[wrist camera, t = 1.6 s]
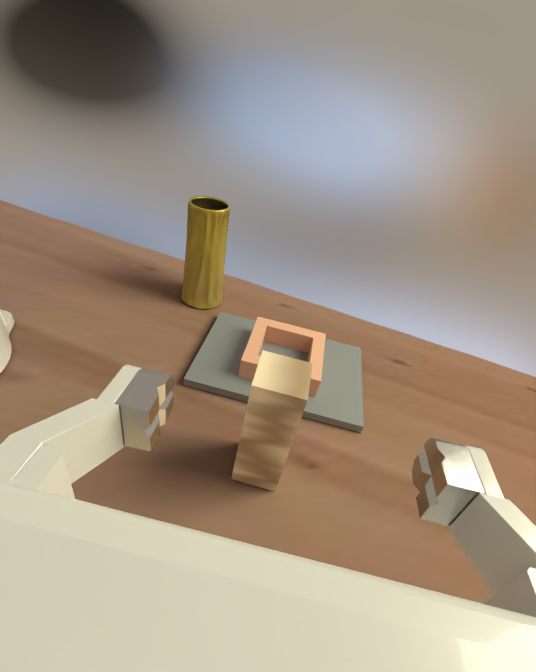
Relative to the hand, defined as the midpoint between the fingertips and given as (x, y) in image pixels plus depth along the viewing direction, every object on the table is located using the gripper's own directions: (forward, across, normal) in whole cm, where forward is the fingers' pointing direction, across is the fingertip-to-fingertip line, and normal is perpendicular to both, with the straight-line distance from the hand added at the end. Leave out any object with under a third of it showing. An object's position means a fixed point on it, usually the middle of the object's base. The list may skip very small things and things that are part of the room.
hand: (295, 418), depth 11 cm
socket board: (+27, 0, +20) cm, 34 cm away
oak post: (+12, +1, +21) cm, 24 cm away
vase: (+38, +14, +20) cm, 45 cm away
